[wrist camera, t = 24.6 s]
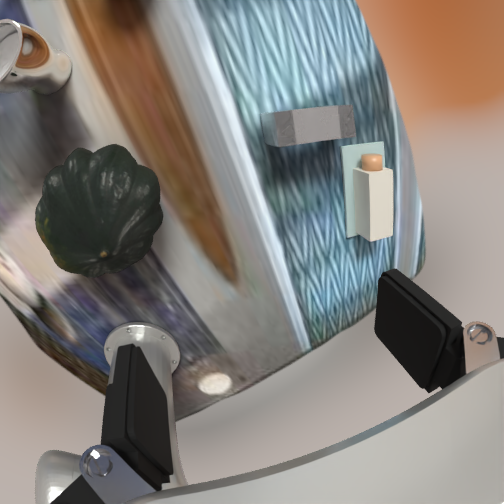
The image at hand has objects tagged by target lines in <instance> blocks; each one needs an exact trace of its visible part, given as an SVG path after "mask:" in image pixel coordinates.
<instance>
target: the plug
mask: <svg viewBox="0 0 504 504" xmlns="http://www.w3.org/2000/svg"><path fill="white" fill-rule="evenodd" d="M361 159H362V167H358V168H353V182H354V200H355V228H356V232H357V233H358V234H360V235H361V236H362V237H364V238H365V239H367V240H368V241H370V242H372V241H375V240H379V239H382V238H385V237H389V236H392V235H393V170H391V169H388V168H385V167H383V164H382V155H381V154H374V153H369V154H362V155H361Z"/></svg>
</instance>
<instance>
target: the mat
mask: <svg viewBox="0 0 504 504" xmlns="http://www.w3.org/2000/svg"><path fill="white" fill-rule="evenodd" d="M340 153H341V163H342V175H343V188H344V204H345V223H346V237H347V238H349V237H352V236H356V235H360V234H358V233H357V232H356V228H355V200H354V182H353V168H358V167H362V159H361V155H362V154H369V153H374V154H381V155H382V164H383V167H385V157H384V142H373V143H364V144H356V145H348V146H341V147H340Z"/></svg>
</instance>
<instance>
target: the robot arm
mask: <svg viewBox="0 0 504 504" xmlns="http://www.w3.org/2000/svg"><path fill="white" fill-rule="evenodd" d="M461 324H462V322H461V321H460V320H459V319H457V318H456V317H455V316H454V315H453V314H452V313H451V312H449V311H448V310H447V309H445V308H444V307H443V306H442V305H441V304H439V303H438V302H437V301H436V300H435V299H434V298H432V297H431V296H430V295H429V294H427V293H426V292H425V291H424V290H423V289H421V288H420V287H419V286H418V285H416V284H415V283H414V282H413V281H411V280H410V279H409V278H407V277H406V276H405V275H404V274H402V273H401V272H400V271H398V270H397V269H392V270H389V271H386V272H383V273H382V275H381V277H380V278H379V280H378V294H377V306H376V318H375V327H374V330H375V334H376V335H377V337H378V338H379V339H380V340H381V342H382V343H383V344H384V345H385V346H386V347H387V349H388V350H389V351H390V352H391V353H392V354H393V356H394V357H395V358H396V359H397V360H398V362H399V363H400V364H401V365H402V366H403V367H404V369H405V370H406V371H407V372H408V373H409V375H410V376H411V377H412V378H413V379H414V381H415V382H416V383H417V384H418V385H419V387H421V388H422V389H423V388H425V390H426V391H427V392H428V393H430V392H432V391H434V390H435V389H437V388H438V387H439V386H440V387H441V388H442V390H441V391H439V392H437V393H436V394H434V395H432V396H431V397H429V398H427V399H426V400H424V401H422V402H420V403H419V404H417V405H415V406H413V407H412V408H410V409H408V410H406V411H404V412H402V413H401V414H399V415H397V416H395V417H393V418H391V419H389V420H387V421H385V422H383V423H381V424H379V425H377V426H375V427H373V428H371V429H369V430H366V431H364V432H362V433H360V434H358V435H355V436H353V437H351V438H348V439H346V440H344V441H342V442H339V443H336V444H334V445H331V446H329V447H326V448H324V449H321V450H319V451H316V452H313V453H310V454H307V455H305V456H302V457H299V458H296V459H293V460H290V461H287V462H284V463H280V464H277V465H274V466H270V467H267V468H263V469H260V470H256V471H252V472H249V473H245V474H240V475H236V476H231V477H227V478H223V479H219V480H213V481H209V482H203V483H198V484H192V485H188V484H187V481H186V478H185V475H184V472H183V469H182V465H181V461H180V456H179V450H178V443H177V435H176V425H175V414H174V403H173V390H172V374H171V373H173V372H174V370H175V369H176V368H177V366H178V364H179V361H180V351H179V346H178V344H177V342H176V340H175V339H174V337H173V336H172V335H171V334H170V333H168V332H167V331H166V330H164V329H163V328H161V327H158V326H156V325H153V324H149V323H144V322H131V323H126V324H123V325H120V326H118V327H117V328H115V329H114V330H113V331H112V332H111V333H110V334H109V335H108V337H107V339H106V342H105V346H104V353H105V357H106V360H107V362H108V363H109V365H110V366H111V368H110V375H109V382H108V386H107V390H106V398H105V406H104V415H103V425H102V436H101V445H95V446H92V447H90V448H89V449H87V450H86V451H85V452H84V453H83V455H82V456H80V455H76V454H72V453H68V452H64V451H59V450H50V451H47V452H45V453H44V454H43V455H42V456H41V457H40V459H39V462H38V464H37V469H36V478H35V499H36V504H504V338H501V337H496V334H495V331H494V330H493V329H492V327H490V326H489V325H487V324H485V323H483V322H471V323H469V324H467V325H466V326H465V328H463V327H462V326H461Z"/></svg>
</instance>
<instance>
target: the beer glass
mask: <svg viewBox="0 0 504 504" xmlns="http://www.w3.org/2000/svg"><path fill="white" fill-rule="evenodd" d="M71 68H72V63H71V59H70V57H69V55H68V54H67V53H66V52H64V51H62V50H57V49H53V48H52V47H51V46H50V44H49V43H48V42H47V40H46V39H45V38H44V37H43V36H42V35H41V34H40V33H39V32H37V31H36V30H34V29H33V28H31V27H29V26H27V25H24V24H21V23H18V22H15V21H14V20H10V19H4V20H0V93H8V94H11V93H19V92H23V91H28V90H32V89H34V90H35V91H37V92H38V93H41V94H51V93H54V92H56V91H58V90H59V89H60V88H61V87H62V86H63V85H64V84H65V83H66V82H67V80H68V78H69V76H70V73H71Z"/></svg>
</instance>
